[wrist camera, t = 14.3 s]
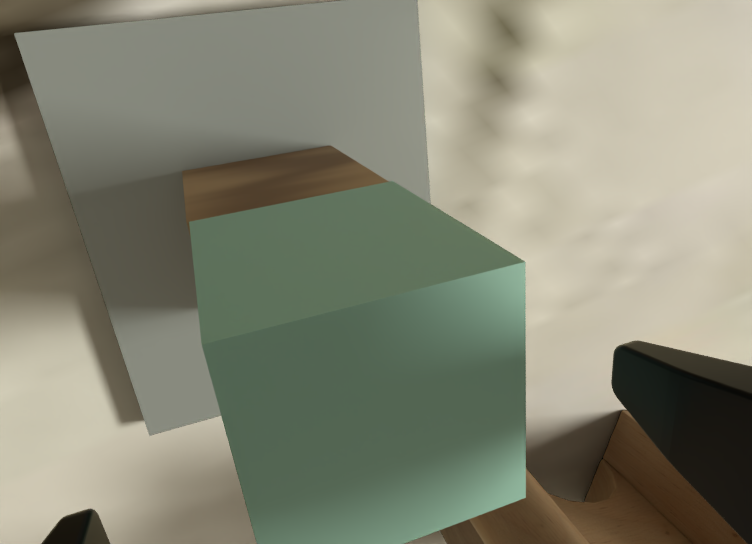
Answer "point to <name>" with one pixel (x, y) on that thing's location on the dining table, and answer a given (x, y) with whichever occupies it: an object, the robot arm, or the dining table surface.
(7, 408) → the dining table surface
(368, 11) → the baseplate
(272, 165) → the walnut block
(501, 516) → the wooden toy
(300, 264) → the teal block
